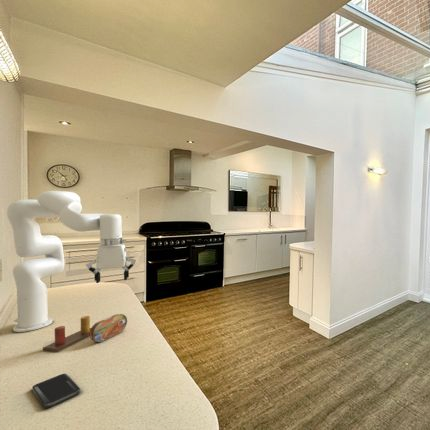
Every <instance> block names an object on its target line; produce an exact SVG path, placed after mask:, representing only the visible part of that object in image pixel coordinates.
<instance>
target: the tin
mask: <svg viewBox="0 0 430 430" xmlns="http://www.w3.org/2000/svg"><path fill="white" fill-rule="evenodd" d="M127 324H128V318H127V316H126V315H125V314H124V313H120V314H119V313H118V314H117V313H115V314H113V315H110V316H108V317H106V318H103V319H101V320H99V321H97V322H95V323H94V324H93V325H92V326H91V327H90V328H91V329H90V333H89V339H90V341H92V342H95V343H96V342H97V343H102V342H105V341H107V340H109V339H111V338H113V337H114V336H117V335H118V334H120V333H122V332H123V331H124V330H125V329H126V327H127Z"/></svg>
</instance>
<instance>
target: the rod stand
mask: <svg viewBox="0 0 430 430" xmlns="http://www.w3.org/2000/svg"><path fill="white" fill-rule="evenodd" d="M90 317H91V316H90V315H85V316H81V317H80V330H78V331H76V332H74V333H72V334H70V335H68V336H66V326H65V325H60V326H57V327H55V328H54V341H53V342H51V343H49V344H48V345H45V346H43V347H42V351H45V352H56V353H59V352H60V351H62V350H65V349H66V348H68V347H71V346H73V345H74V344H75V345H76V344H77V343H80V342H81V341H83V340H85V339H88V338H90V336H89V333H90V329H91V328H92V327H91V322H90V321H91V319H90Z"/></svg>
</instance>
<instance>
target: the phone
mask: <svg viewBox="0 0 430 430" xmlns="http://www.w3.org/2000/svg"><path fill="white" fill-rule="evenodd" d="M32 392H33V394H34V395H35V396H36V399H37V400H38V401H39V403H40V404H41V406H42V407H43V409H50V408H53V407H54V406H57V405H59V404H61V403H63V402H65V401H67V400H69V399H71V398H73V397H76V396H79V395H80V393H81V388H80V387H79V385H77V384H76V382H75V381H74V380H73V379H72V378H71V377H70V376H69V375H68V374H67V373H60V374H59V375H58V374H57V375H56V376H54V377H51V378H48V379H46V380H43V381H41V382H38V383H35V384H34V385H33V386H32Z"/></svg>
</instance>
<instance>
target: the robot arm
mask: <svg viewBox="0 0 430 430" xmlns="http://www.w3.org/2000/svg"><path fill="white" fill-rule="evenodd" d="M81 202H82V201H81V196H79V194H77V193H76V192H74V191H70V190H69V191H68V190H67V191H65V190H46V191H43V192H41V193H39V194H38V196H37V199H33V198H31V199H30V198H29V199H27V198H25V199H18V200H14V201H12V202H11V203H10V204H9V205H8V206H7V210H6V216H7V219H8V221H9V223H10V225H11V228H12V232H13V241H14V250H15V253H16V255H17V256H18V257H20V258H33V257H38V258H33V259H27V260H23V261H21V262H18V263H16V264H15V265H14V267H13V268H12V276H13V279H14V281H15V286H16V287H15V288H16V303H17V305H16V307H17V318H14V320H13V322H14V323H16V325H15V326H13V327H12V332H15V333H24V332H25V333H26V332H31V331H35V330H38V329H42V328H46V327H47V326H49V325H51V324H52V323H53V319H52V318H51V317H49V313H48V311H49V310H48V308H49V307H48V288H47V285H46V284H45V282H43V281H42V279H44V278H48V277H49V278H50V277H53V276H57V275H59V274H62V273H63V272H64V270H65V266H66V265H65V255H64V246H63V242H62V240H61V238H60V237H58V236H56V235H53V234H45V235H43V234H42V232H41V227H40V224H38V222H37V221H36V220H34V219H35V218H56V217H59V220H60V223H61V224H62V225H63V226H65V227H66V228H68V229H71V230H72V231H74V232H76V231H77V232H81V233H82V232H83V233H84V232H94V231H99V245H98V247H97V251H96V252H97V253H96V258H95V259H94V260H92V261H90V262H88V263H86V264H85V266H86V268H87V269H88V271H90V272H91V273H92V274H93V275H94V282H95V283H96V284H99V283H100V282H101V272H100V271H101V270H108V269H119V268H120V269H123V270H124V271H123V281H127V280H128V278H129V277H130V270H131V269H132V268H133V267H134V265H135V263H136V262H137V260H136V259H134V258H131V257H128V256H127V250H126V245H125V244H124V243H126V242H127V239H126V238H124V237H123V231H122V230H123V220H122V219H123V218H122V215H121V214H118V213H81V212H82V210H83V206H82V204H81ZM33 218H34V219H33ZM39 256H44V257H40V258H39ZM128 262H130V264H129V265H127V264H128ZM94 264H95V265H96V266H95V267H96V268H95V267H94V266H93V265H94Z"/></svg>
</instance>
